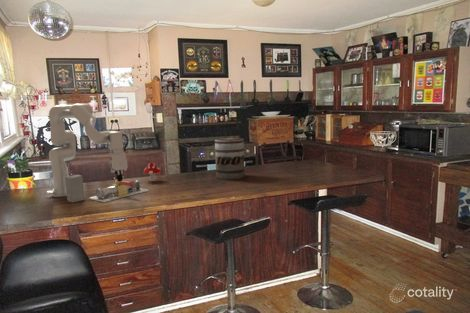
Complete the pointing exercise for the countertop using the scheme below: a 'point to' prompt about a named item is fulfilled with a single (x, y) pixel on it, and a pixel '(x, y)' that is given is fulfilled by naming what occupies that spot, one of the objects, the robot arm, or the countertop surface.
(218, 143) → the barrel
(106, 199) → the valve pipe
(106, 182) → the countertop surface
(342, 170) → the countertop surface
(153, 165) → the decorative mushroom
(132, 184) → the lever
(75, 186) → the skincare box
